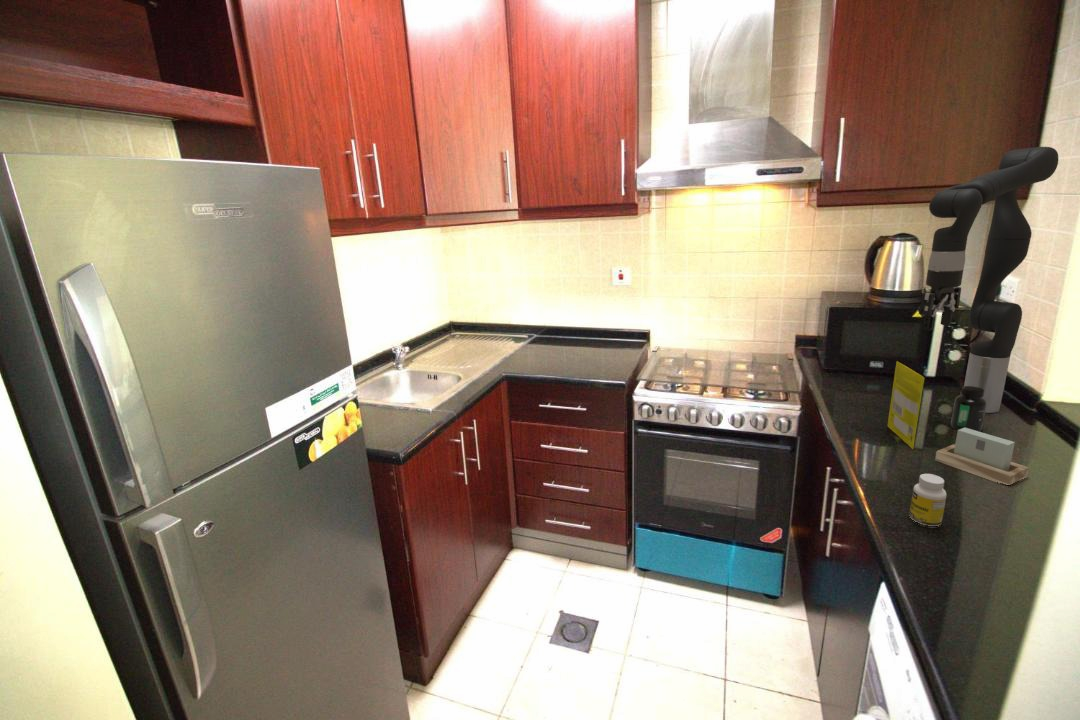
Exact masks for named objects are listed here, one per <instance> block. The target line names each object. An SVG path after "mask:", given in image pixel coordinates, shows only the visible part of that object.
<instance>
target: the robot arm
mask: <svg viewBox="0 0 1080 720" xmlns="http://www.w3.org/2000/svg"><path fill="white" fill-rule="evenodd" d="M1058 165H1059V153H1058V151H1057V150H1056V149H1055V148H1053V147H1051V146H1036V147H1028V148H1026V147H1025V148H1019V149H1013V150H1012V149H1011V150H1008V151H1007V152H1005V154H1004V155H1003V156H1002V158H1001V160H1000V162H999V164H998V169H996V170H994V171H990V172H986V173H985V174H981V175H980V176H978V177H976V178H973V179H971V180H969V181H968V182H966V183H960V184H957V185H953V186H950V187H947V188H944V189H942V190H940V191H938V192H937V193H936V194H935V195H934V196H933V197H931V200H930V202H929V206H928V209H929V212H930V214H931V215H932V216H933V217H935V218H938V219H939V218H940V219H950V218H951V219H953V218H954V219H955V218H956V219H955V220H954V221H953V223H952V225H949V226H946V227H941V228H938V229H936V230H935V232H934V234H933V238H932V239H933V240H932V246H931V252H930V255H929V259H928V266H927V274H926V278H925V286H927V287H929V288H930V291H929V292H925V291H924V292H922V294H921V300H920V304H919V310H918V314H919V315H922V316H923V322H922V330H925V331H929V332H930V331H933V329H934V326H935V319H936V314H937V312H938V311H940V310H942V311H941V316H940V317H941V318H940V325H942V326H946V327H947V326H950V325H951V324H952V318H953V313H954V312H955V310H958V309H959V307H960V302H961V293H962V287H961V286H962V282H963V277H964V276H963V275H964V269H965V263H966V249H967V245H968V237H969V233H970V232H971V228H972V227H973V224H974V222H975V220H976V218H977V216H978V215H979V212H980V210H981V208H982V206H983V205H985V204H987V203H989V202H991V201H993V200H994V206H993V212H992V218H991V222H990V227H989V232H988V234H987V240H986V245H985V250H984V255H983V256H984V257H983V263H982V268H981V273H980V277H979V280H978V284H977V288H976V290H975V294H974V297H973V301H972V304H971V307H970V309H969V310H970V311H969V316H968V323H969V326H970V327H971V329H973V330H975V331H976V330H977V331H981V332H988V333H994V335H993V338H992V339H991V340H983V341H977V342H973V343H972V344H971V346H970V352H969V355H968V356H969V357H968V362H967V367H966V371H965V372H966V373H965V378H964V379H965V380H964V383H963V384H964V385H963V387H964V386H974V387H979V388H982V389H983V390H984V396H983V397H982V398H983V399H984V400H985V401H986V403H987V404H986V410H985V414H987V413H992V414H993V413H998V412H1000V407H1001V403H1002V399H1003V395H1004V389H1005V384H1006V380H1007V379H1006V378H1007V373H1008V370H1009V365H1010V359H1011V355H1012V351H1013V349H1014V347H1015V344H1016V340H1017V336H1018V333H1019V329H1020V325H1021V322H1022V318H1023V317H1022V316H1023V310H1022V307H1021V305H1020V304H1018V303H1015V302H1008V301H998V300H995V297H996V294H997V292H998V289H999V287H1000V285H1001V284H1002V283H1003V281H1004V280H1005V279H1006V278H1008V276H1009V275H1010V274H1011V273H1012V272H1013V271H1015V270H1016V269H1017V268H1018V267H1019V266H1020V265H1021V264H1022V263H1023V262H1024V261H1025V259H1026V257H1027V255H1028V252H1029V249H1030V243H1031V238H1032V228H1031V226H1030V223H1029V222H1028V220H1027V218H1026V217H1025V215H1024V213H1023V212H1022V210H1021V208H1020V206H1019V202H1018V194H1017V193H1018V189H1020V188H1023V187H1025V186H1029V185H1033V184H1037V183H1041V182H1044V181H1046V180H1048V179H1049V178H1051V176H1053V175H1054V174H1055V172H1056V170H1057V168H1058ZM951 326H952V325H951Z"/></svg>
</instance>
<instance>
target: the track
mask: <svg viewBox="0 0 1080 720" xmlns="http://www.w3.org/2000/svg"><path fill="white" fill-rule="evenodd" d="M954 449H955V443H953V444H951V445H948V446H946V447H943V448H941V449H938V450H937V451H936V453H935V459H934V461H935V462H939V463H941V464H944V465H946V466H949V467H952V468H955V469H958V470H960V471H963V472H966V473H969V474H972V475H974V476H978V477H980V478H983V479H986V480H988V481H992V482H994V483H997V482H998V483H997V484H1000V483H1003V484H1006V485H1010V484H1013V483H1015V482H1017V481H1019V480H1021V479H1023V480H1025V479H1027V477H1028V473H1029V469H1030V467H1029V466H1025V465H1022V464H1020V463H1019V464H1018V463H1016V462H1013V461H1011V463H1010V468H1009V472H1006V471H1003V470H1000V469H998V468H995V467H992V466H989V465H986V464H983V463H980V462H977V461H974V460H971V459H968V458H965V457H962V456H959V455H956V454H954ZM1024 478H1025V479H1024ZM1021 481H1022V480H1021ZM1019 482H1020V481H1019ZM1017 483H1018V482H1017ZM1015 484H1016V483H1015ZM1013 485H1014V484H1013Z"/></svg>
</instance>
